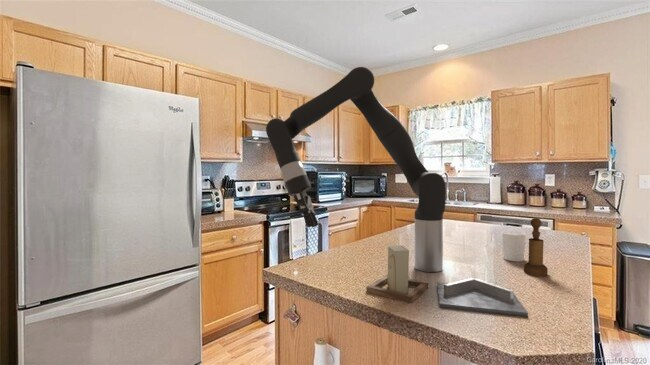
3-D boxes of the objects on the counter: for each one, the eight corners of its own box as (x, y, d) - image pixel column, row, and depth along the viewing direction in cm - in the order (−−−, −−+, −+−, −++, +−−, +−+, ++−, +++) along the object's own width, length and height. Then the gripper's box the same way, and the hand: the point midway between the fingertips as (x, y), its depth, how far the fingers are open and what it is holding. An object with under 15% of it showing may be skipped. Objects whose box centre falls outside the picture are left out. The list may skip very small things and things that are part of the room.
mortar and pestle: (551, 277, 100) (552, 220, 100) (528, 275, 101) (529, 219, 101) (541, 270, 107) (542, 217, 106) (520, 269, 108) (520, 216, 107)
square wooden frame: (387, 279, 100) (387, 274, 100) (428, 288, 92) (428, 282, 92) (366, 291, 89) (366, 286, 89) (410, 302, 81) (410, 297, 81)
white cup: (525, 258, 122) (526, 232, 122) (525, 263, 115) (525, 235, 115) (502, 255, 126) (502, 230, 126) (500, 260, 120) (501, 233, 119)
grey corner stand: (437, 285, 94) (437, 273, 94) (509, 292, 88) (510, 279, 88) (439, 307, 78) (439, 293, 78) (527, 317, 73) (528, 302, 73)
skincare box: (387, 286, 93) (387, 245, 93) (401, 285, 94) (401, 244, 93) (393, 294, 87) (393, 250, 87) (409, 293, 88) (409, 250, 87)
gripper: (302, 170, 94) (321, 221, 91) (310, 177, 108) (327, 222, 105) (278, 179, 95) (297, 231, 92) (289, 185, 109) (306, 230, 106)
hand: (313, 226), depth 99 cm, fingers open, 8 cm apart
